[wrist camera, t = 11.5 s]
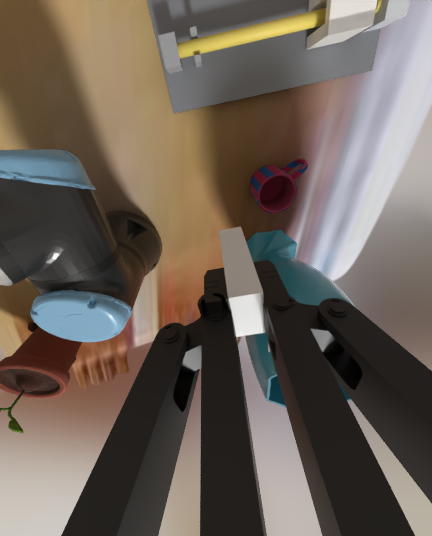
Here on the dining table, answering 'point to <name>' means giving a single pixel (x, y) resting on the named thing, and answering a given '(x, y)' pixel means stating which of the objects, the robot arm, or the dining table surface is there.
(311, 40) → the sleeve
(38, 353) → the potted plant
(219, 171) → the dining table surface
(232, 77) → the linear slide mechanism
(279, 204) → the mug
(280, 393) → the vase
